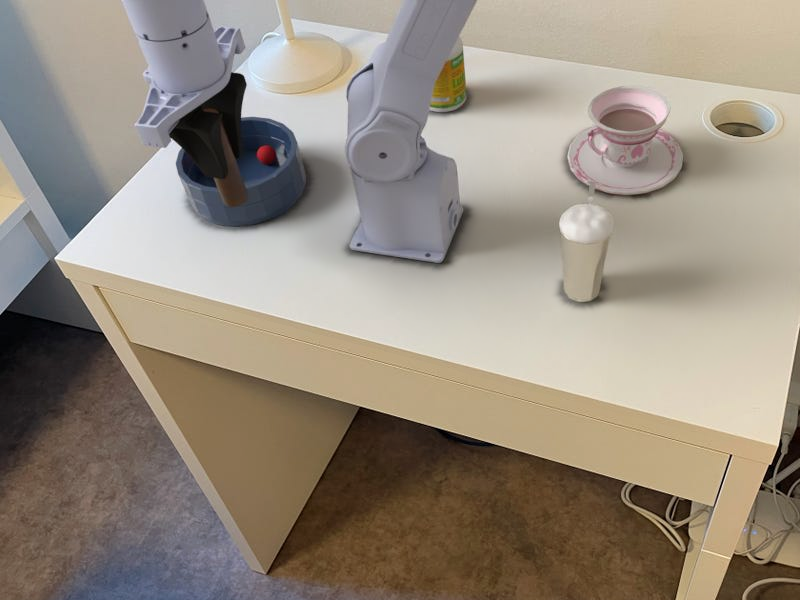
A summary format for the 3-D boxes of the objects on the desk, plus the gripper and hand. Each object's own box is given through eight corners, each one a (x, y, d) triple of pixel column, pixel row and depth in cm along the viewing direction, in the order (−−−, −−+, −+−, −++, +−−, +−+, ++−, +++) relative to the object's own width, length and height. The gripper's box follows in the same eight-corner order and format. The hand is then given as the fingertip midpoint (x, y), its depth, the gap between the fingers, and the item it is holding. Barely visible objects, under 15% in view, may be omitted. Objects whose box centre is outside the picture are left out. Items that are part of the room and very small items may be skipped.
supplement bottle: (461, 115, 93) (454, 35, 85) (415, 112, 93) (404, 32, 86) (471, 88, 96) (465, 8, 88) (426, 85, 97) (417, 6, 89)
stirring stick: (252, 192, 77) (224, 109, 70) (241, 208, 76) (211, 126, 68) (229, 188, 77) (199, 106, 70) (218, 205, 76) (186, 123, 69)
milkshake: (611, 269, 76) (619, 184, 68) (603, 311, 73) (611, 227, 65) (562, 263, 77) (566, 178, 69) (553, 304, 74) (555, 220, 66)
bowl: (323, 158, 89) (314, 123, 85) (278, 233, 82) (266, 199, 78) (222, 145, 91) (209, 111, 88) (169, 217, 84) (154, 183, 81)
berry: (266, 161, 86) (278, 167, 88) (269, 142, 86) (281, 149, 88) (251, 160, 87) (263, 166, 89) (255, 142, 87) (267, 148, 89)
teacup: (632, 112, 91) (637, 62, 86) (706, 167, 85) (717, 116, 80) (544, 152, 88) (545, 102, 83) (615, 213, 81) (620, 162, 76)
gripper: (170, -28, 68) (219, 112, 78) (74, 68, 59) (144, 211, 70) (247, -22, 66) (287, 121, 77) (160, 78, 58) (218, 223, 68)
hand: (224, 165), depth 73 cm, fingers closed on stirring stick, 2 cm apart
